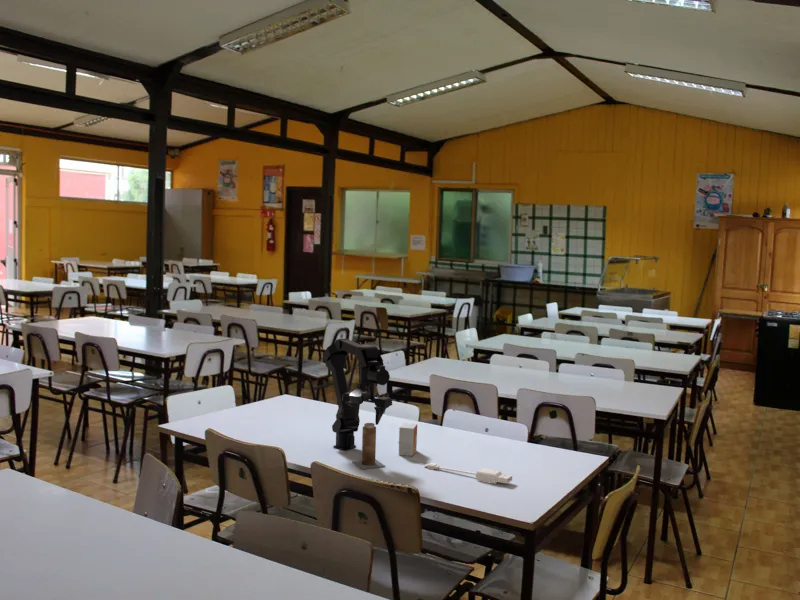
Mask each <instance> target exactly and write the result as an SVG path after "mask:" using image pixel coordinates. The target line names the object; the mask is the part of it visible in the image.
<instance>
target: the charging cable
mask: <svg viewBox="0 0 800 600" xmlns="http://www.w3.org/2000/svg"><path fill="white" fill-rule="evenodd" d="M423 466H424V467H427V469H428V470H433V471H435V470H439V469H440V470H445V471H451V472H458V473H463V474H469V475H475V477H476V481H477V480H479V481H478V482H482V481H485V482H484V483H487V482H490V483H489V484H492V483H494V484H493V485H497V484H498V483H502V484H509V483H511V482H512V481H513V475H511V474H507V473H506V474H505V473H502V471H501V470H496V469H489V468H486V467H483V468H480V469H478V470H477V471H476V472H473V471H467V470H461V469H457V468H456V469H455V468H451V467H450V468H449V467H445V466H444V467H443V466H440V465H438V463H434V462H433V463H432V462H429V463H427V464H424V465H423ZM434 469H435V470H434ZM497 482H498V483H497ZM496 483H497V484H496Z"/></svg>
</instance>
